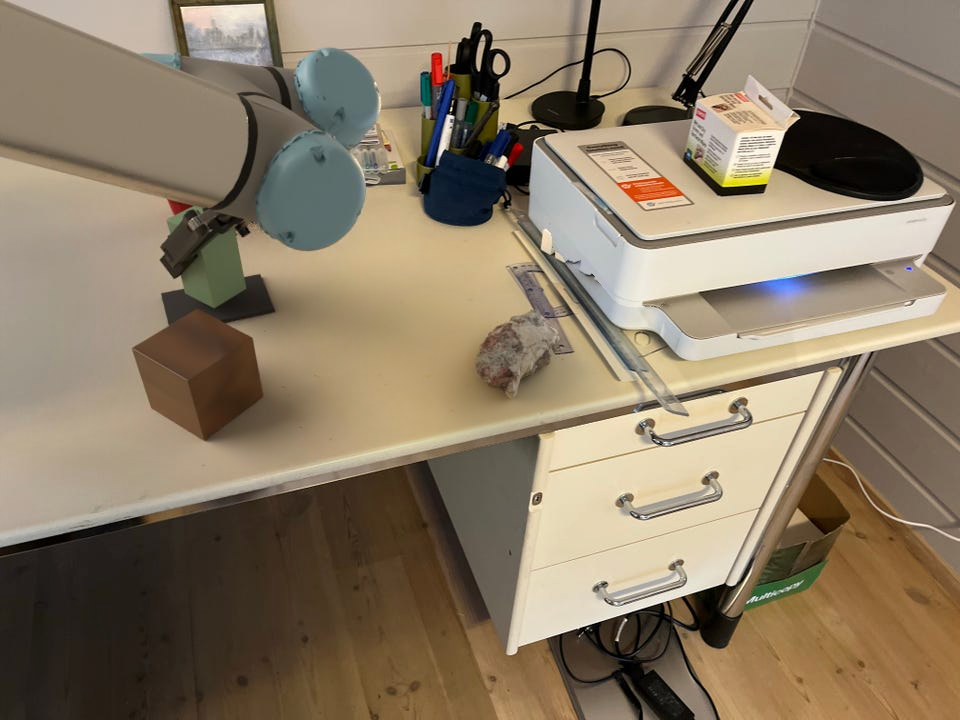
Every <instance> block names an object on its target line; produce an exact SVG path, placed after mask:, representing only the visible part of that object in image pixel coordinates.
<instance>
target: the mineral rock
mask: <svg viewBox="0 0 960 720" xmlns="http://www.w3.org/2000/svg"><path fill="white" fill-rule="evenodd" d="M560 339H561V337H560V335H559V331H558V330H557V329H556V327H552V326H551V325H550V324H549V321H548V320H547V319H546V318H545V317H544V316H543V315H542V314H541V313H540V310H539V309H538V308H536V309H530V310H529V311H528V312H526V313H524V314H520V315H514V316H511V317H510V318H509V320H508V321H506V322H504V323H502V324H499V325H497V326H496V327H494V329H493V330H492V331H489V332H488V334H487V336H486V337H485V338H484V341H483V342H482V343H481V344H480V345H479V352H478V355H477V356H476V358H475V361H474V367H475V372H476V374H477V375H478V376H479V377H480V379H481V380H482V381H484V382H486V384H487V386H488V387H489V388H493V389H498V388H500V389H502V390H503V391H504V393H505V396H506V398H510V399H512V400H514V398H516V396H517V394H518V392H519V391H518V390H519V386H520V383H521V379H524V378H526V377H529V376H532V375H533V374H535V373H536V371H537V370H538V369H540V368H543V367H546V366H549V365H550V364H551V363H552V362H551V359H552V355H551V349H552V348H553V346H554V345H555V344H556V343H558V342H559V341H560Z"/></svg>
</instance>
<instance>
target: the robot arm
mask: <svg viewBox="0 0 960 720" xmlns="http://www.w3.org/2000/svg"><path fill="white" fill-rule="evenodd" d="M381 110H382V98H381V94H380V91H379V88H378V84H377V81H376V79H375V78H374V76H373V74H372V73H371V71H370V70H369V69H368V67H366V65H365V64H364V63H362V61H360V60H359V59H358V58H356V57H355V56H354V55H353V54H351V53H350V52H348V51H345V50H343V49H340V48H336V47H329V46H327V47H326V46H325V47H322V48H318V49H316V50H314V51H312V52H311V53H309V54H308V55H307V56H306V57H304V58H303V59H302V60H299V62H298V63H297V64H296V67H294V68H287V67H279V66H272V65H267V66H265V65H255V64H254V65H253V64H247V63H239V62H231V61H223V60H217V59H209V58H202V57H193V56H187V55H181V53H180V52H174V53H173V54H170V53H169V54H168V53H149V52H148V53H147V52H140V53H138V52H136V51H133V50H131V49H128V48H125V47H123V46H120V45H118V44H115V43H112V42H110V41H108V40H106V39H103V38H100V37H97V36H95V35H93V34H90V33H88V32H86V31H83V30H80V29H78V28H75V27H73V26H70V25H67V24H65V23H62V22H61V21H58V20H55V19H53V18H50V17H48V16H45V15H43V14H40V13H37V12H36V11H33V10H30V9H29V8H28V9H27V8H25V7H22V6H20V5H17V4H15V3H13V2H11V1H7V0H0V158H4V159H7V160H11V161H16V162H19V163H23V164H28V165H31V166H36V167H39V168H43V169H46V170H52V171H55V172H59V173H62V174H67V175H71V176H75V177H79V178H83V179H86V180H90V181H94V182H97V183H98V182H99V183H102V184H106V185H110V186H113V187H119V188H121V189H127V190H130V191H134V192H138V193H142V194H146V195H149V196H153V197H158V198H161V199H165V200H167V199H169V200H173V201H177V202H181V203H185V204H189V205H193V206H197V207H201V208H202V210H203V213H200V212H199V211H198V210H194V209H192V210H188V211H187V212H186V213H185V214H184V215H183V220H182V221H181V222H180V224H179V225H178V226H177V227H176V228H175V230H174V231H173V232H172V233H171V234H170V233H169V234H168V235H167V238H166V239H165V240H164V242H162V243H161V245H160V246H159V248H160V249H161V251H162V252H163V255H162V256H161V257H160V258H159V262H160V263H161V264H162V266H163V267H164V268H165V270H167V272H168V273H169V275H170V276H171V278H172V279H173V280H176V279H177V278H179V277H181V274H182V273H183V272H184V271H185V270H186V269H187V268H188V267H189V266H190V265H191V263H192V262H193V261H194V260H195V259H196V258H197V257H198V255H197V253H198V252H199V251H201V250H202V249H203V248H204V247H205V246H206V245H207V244H209V243H210V242H211V241H212V240H213V239H214V238H215V237H217V236H218V235H219V234H224V233H226V232H229V231H231V230H232V229H233V228H234V227H235V232H236V237H237V236H238V234H239V236H240V237H241V238H243V239H244V238H245V237H247V236H248V235H250V234H251V230H250V229H249V228H248V226H249V225H250V224H251V225H253V224H257V225H258V226H259V228H260V229H261V230H262V231H263V232H264V234H266V235H268V236H269V237H270V238H271V239H274V240H276V241H278V242H280V244H283V245H284V246H285V247H288V248H290V249H293V250H296V251H300V252H315V251H319V250H323V249H327V248H329V247H331V246H333V245H335V244H336V243H338V242H339V241H341V240H342V239H344V237H345V236H347V234H349V232H351V230H352V229H353V228H354V226H355V225H356V223H357V221H358V218H359V216H361V214H362V210H363V208H364V204H365V202H366V196H367V184H366V183H367V182H366V177H365V173H364V171H363V168H362V166H361V164H360V162H359V161H358V159H357V158H356V157H355V155H354V154H353V153H352V152H351V150H352V149H355V148H356V147H358V146H359V145H360V144H361V143H362V141H363V139H364V137H365V136H366V135H367V134H368V132H369V131H370V130H371V129H372V128H373V127H374V125H375V124H376V123H377V122H378V119H379V117H380V115H381Z"/></svg>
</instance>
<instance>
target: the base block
mask: <svg viewBox="0 0 960 720" xmlns="http://www.w3.org/2000/svg"><path fill="white" fill-rule="evenodd" d="M255 348H256V347H255V342H254V338H253V337H252V336H250V335H248V334H246V333H245V332H243V331H241V330H239V329H238V328H235V327H233V326H231V325H229V324H227V322H225V323H224V322H222V321H220V320H218V319H216V318H214V317H212V316H210V315H208V314H206V313H204V312H203V311H201V310H199V309H196V310H194V311H193V312H191V313H189V314H188V315H186V316H184V317H183V318H181V319H179V320H178V321H176V322H174V323H173V324H171V325H167V326H166V327H165V328H163V329H161V330H159V331H158V332H156V333H154V334H153V335H151V336H149V337H148V338H146V339H144V340H143V341H140V342H139V343H138V344H136V345H135V346H133V347H131V351H132V354H133V357H134V361H135V363H136V366H137V369H138V372H139V376H140V378H141V381H142V382H141V383H142V385H143V388H144V391H145V394H146V397H147V400H148V403H149V406H150V408H151V410H154V411H155V412H157V413H158V414H160V415H161V416H164V417H165V418H167V419H168V420H169V421H172V422H173V423H175V424H176V425H178V426H179V427H181V428H183V429H184V430H186V431H188V432H189V433H190V434H192V435H194V436H196V437H197V438H199V439H200V440H202V441H205V442H206V440H208V439H209V438H210V437H212V436H213V435H214V434H216V433H217V432H218V431H220V430H221V429H223V428H224V427H225V426H226V425H228V424H229V423H230V422H232V421H233V420H234V419H236V418H238V416H240V415H241V414H242V413H243V412H245V411H246V410H248V409H249V408H250V407H252V406H253V405H255V404H256V403H257V402H258V401H260V400H261V399H262V398H264V391H263V386H262V381H261V374H260V370H259V364H258V357H257V353H256V349H255Z"/></svg>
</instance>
